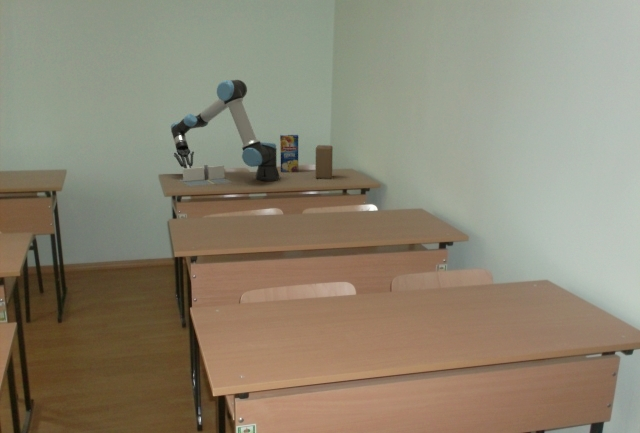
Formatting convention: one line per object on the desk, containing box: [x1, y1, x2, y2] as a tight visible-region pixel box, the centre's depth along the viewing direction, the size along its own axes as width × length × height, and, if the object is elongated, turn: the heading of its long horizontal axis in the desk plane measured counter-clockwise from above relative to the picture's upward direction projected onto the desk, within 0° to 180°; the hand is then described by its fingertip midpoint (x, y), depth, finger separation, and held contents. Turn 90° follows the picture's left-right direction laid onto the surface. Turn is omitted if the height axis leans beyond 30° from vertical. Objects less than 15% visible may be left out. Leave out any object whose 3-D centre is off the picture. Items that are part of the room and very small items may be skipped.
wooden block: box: [315, 144, 334, 180], centre depth 400 cm, size 10×10×20 cm
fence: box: [203, 164, 225, 180], centre depth 391 cm, size 12×2×9 cm, turn 117°
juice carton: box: [279, 134, 299, 173], centre depth 420 cm, size 12×8×24 cm, turn 94°
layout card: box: [179, 177, 233, 187], centre depth 386 cm, size 27×22×1 cm
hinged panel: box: [182, 166, 205, 181], centre depth 385 cm, size 13×1×8 cm, turn 117°
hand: (189, 174), depth 387 cm, fingers closed
